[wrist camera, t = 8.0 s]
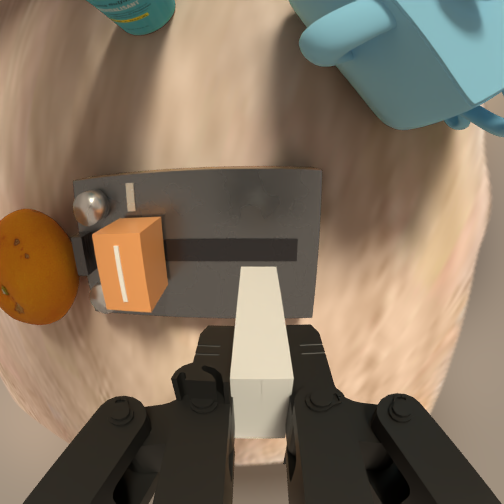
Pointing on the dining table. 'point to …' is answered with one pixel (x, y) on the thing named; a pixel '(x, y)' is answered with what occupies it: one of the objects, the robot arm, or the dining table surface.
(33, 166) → the dining table surface
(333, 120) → the dining table surface
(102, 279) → the fader
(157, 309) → the console
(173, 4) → the tube
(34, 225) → the fruit
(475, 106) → the teapot
